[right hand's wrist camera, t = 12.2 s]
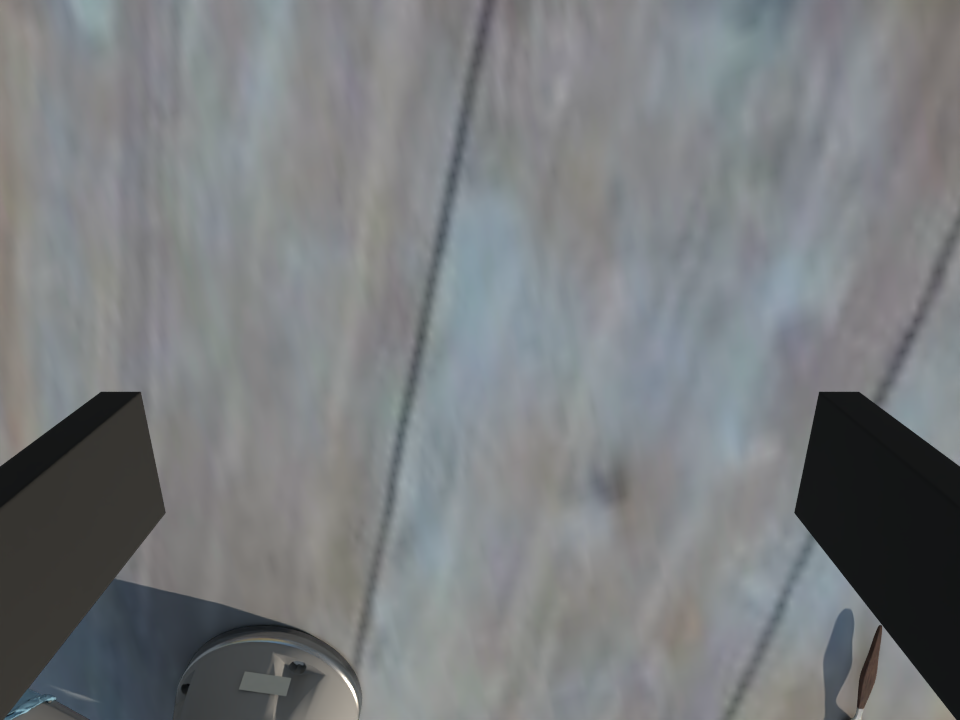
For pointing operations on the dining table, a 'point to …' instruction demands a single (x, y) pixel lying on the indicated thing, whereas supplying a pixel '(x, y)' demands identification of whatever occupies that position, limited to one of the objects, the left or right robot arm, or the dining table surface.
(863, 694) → the fork
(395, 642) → the dining table surface
